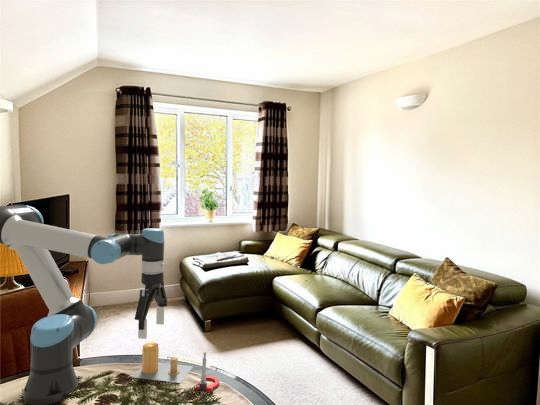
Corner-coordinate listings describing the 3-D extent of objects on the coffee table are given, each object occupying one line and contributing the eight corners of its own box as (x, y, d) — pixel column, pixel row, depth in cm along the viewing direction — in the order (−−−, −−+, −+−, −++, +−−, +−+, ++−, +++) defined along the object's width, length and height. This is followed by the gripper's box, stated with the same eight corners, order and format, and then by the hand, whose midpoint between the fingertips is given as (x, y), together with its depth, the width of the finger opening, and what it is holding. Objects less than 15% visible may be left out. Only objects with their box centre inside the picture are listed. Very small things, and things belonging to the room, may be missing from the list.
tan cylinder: (139, 372, 130) (140, 347, 130) (146, 365, 135) (147, 341, 135) (153, 374, 129) (154, 349, 129) (160, 367, 134) (160, 343, 134)
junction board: (130, 381, 127) (131, 362, 127) (147, 365, 139) (147, 348, 138) (180, 387, 124) (181, 368, 124) (193, 370, 136) (193, 353, 136)
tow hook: (199, 378, 132) (190, 390, 123) (201, 341, 132) (192, 351, 123) (222, 380, 130) (214, 393, 121) (223, 344, 131) (216, 354, 121)
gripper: (145, 281, 118) (144, 346, 119) (176, 265, 143) (175, 319, 143) (124, 279, 119) (123, 344, 120) (158, 264, 144) (157, 318, 144)
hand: (151, 330), depth 132 cm, fingers open, 13 cm apart
